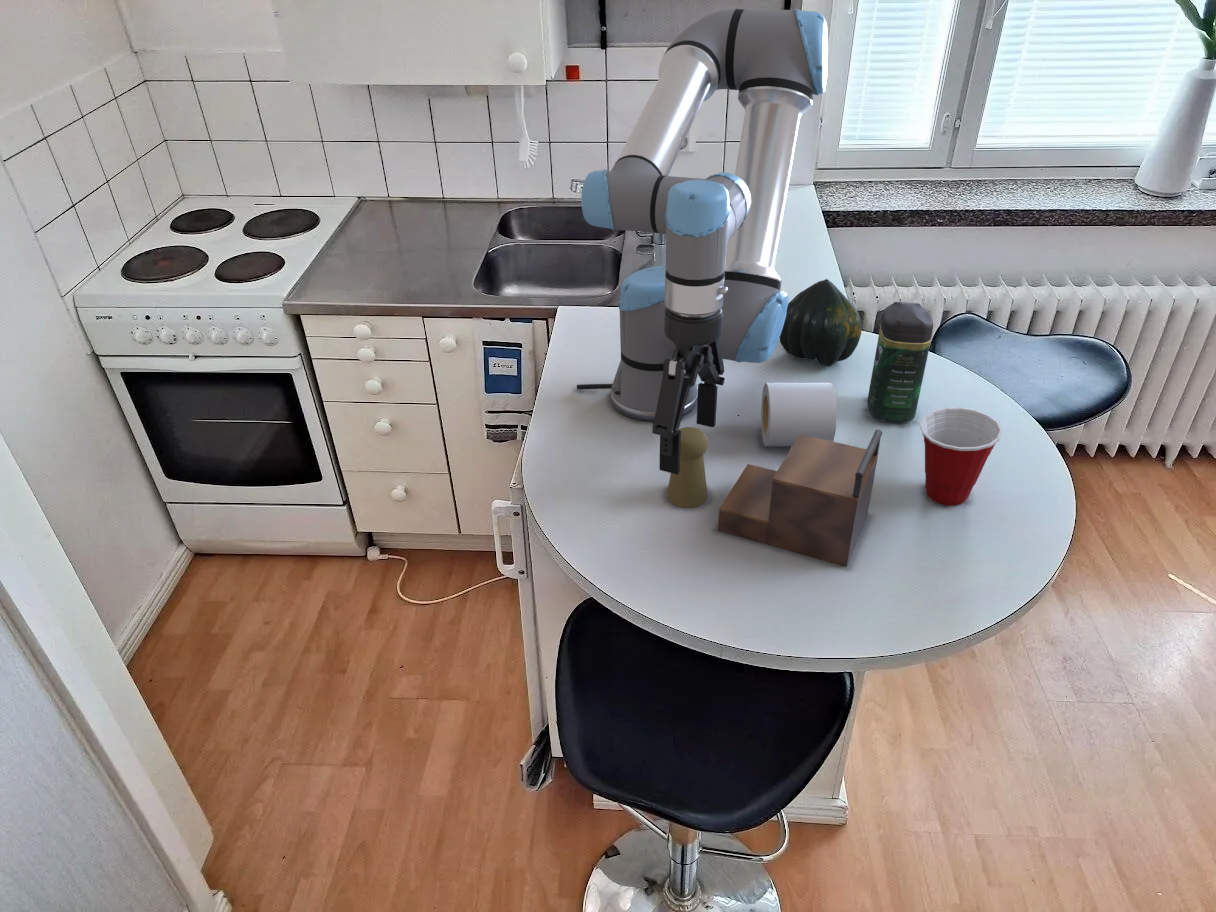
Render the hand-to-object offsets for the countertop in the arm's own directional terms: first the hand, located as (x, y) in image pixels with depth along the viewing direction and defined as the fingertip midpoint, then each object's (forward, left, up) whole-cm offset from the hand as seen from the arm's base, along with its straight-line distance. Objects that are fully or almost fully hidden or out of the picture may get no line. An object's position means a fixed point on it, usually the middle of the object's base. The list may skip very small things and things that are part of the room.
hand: (688, 447), depth 123 cm
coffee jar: (+22, +37, -9) cm, 44 cm away
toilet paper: (+10, +21, -9) cm, 25 cm away
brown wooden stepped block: (+16, 0, -9) cm, 18 cm away
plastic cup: (+34, +16, -9) cm, 39 cm away
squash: (+5, +52, -9) cm, 53 cm away
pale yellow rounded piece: (0, 0, -9) cm, 9 cm away
